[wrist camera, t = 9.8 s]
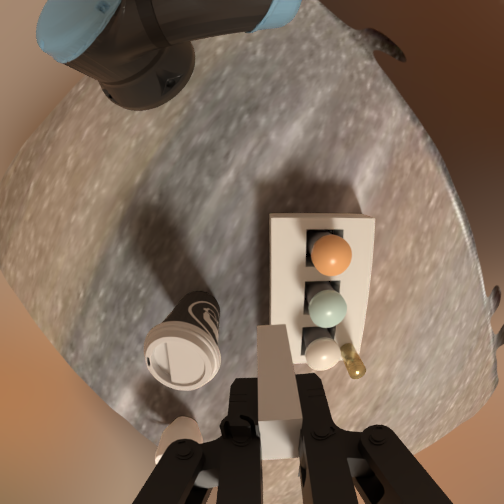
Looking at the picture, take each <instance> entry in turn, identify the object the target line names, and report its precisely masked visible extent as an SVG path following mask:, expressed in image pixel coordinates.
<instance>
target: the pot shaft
mask: <svg viewBox="0 0 504 504" xmlns="http://www.w3.org/2000/svg"><path fill="white" fill-rule="evenodd" d="M340 351H341V357H342V359H343V361H344V364H345V366H346V368H347V370H348V373H349V375H350V377H351V378H352V379H359V378H361V377H362V376H363V375H364V374H365V373H366V368H365V366H364V364H363V362H362V360H361V359H360V357H359V355H358V353H357V351H356V349H355V348H354V346H353V345H352V344H351V343H346V344H344V345H342V346H341V348H340Z"/></svg>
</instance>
